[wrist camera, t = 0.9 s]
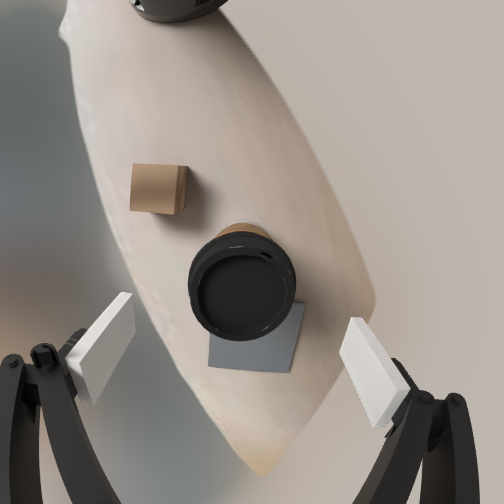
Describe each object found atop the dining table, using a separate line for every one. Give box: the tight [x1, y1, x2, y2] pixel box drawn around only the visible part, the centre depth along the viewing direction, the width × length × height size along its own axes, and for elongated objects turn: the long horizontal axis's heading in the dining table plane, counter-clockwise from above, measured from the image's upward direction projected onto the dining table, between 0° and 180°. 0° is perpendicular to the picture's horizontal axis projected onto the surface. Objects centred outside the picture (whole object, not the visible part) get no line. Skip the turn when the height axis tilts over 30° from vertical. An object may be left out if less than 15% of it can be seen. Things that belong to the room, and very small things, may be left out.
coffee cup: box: [188, 220, 296, 341], centre depth 26 cm, size 8×8×15 cm
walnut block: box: [130, 163, 188, 215], centre depth 28 cm, size 5×5×5 cm
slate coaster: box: [208, 302, 305, 373], centre depth 36 cm, size 12×12×1 cm
